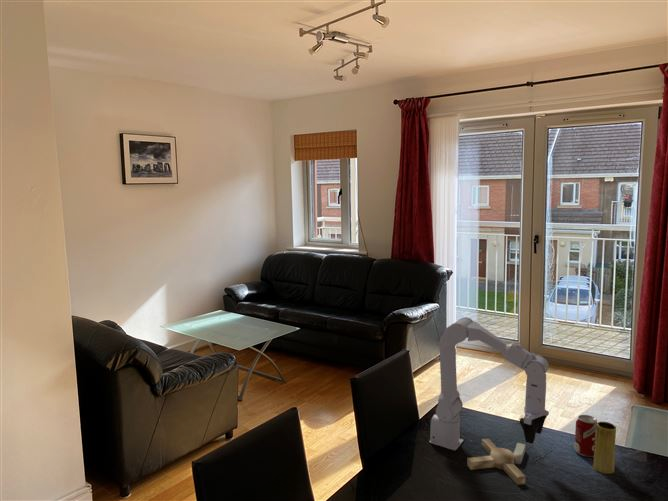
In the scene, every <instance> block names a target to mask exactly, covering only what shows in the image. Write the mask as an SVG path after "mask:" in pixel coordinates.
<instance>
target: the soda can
mask: <svg viewBox="0 0 668 501" xmlns="http://www.w3.org/2000/svg"><path fill="white" fill-rule="evenodd" d="M577 418H578V419H576V421H575V432H574V446H573V447H574V448H573V450H574V451H575V452H576V453H577V454H578V455H580V456H581V457H582V456H583V457H586V458H594V450H595V440H596V429H597V423H598V419H597V418H596V417H595V416H592V415H587V414H580V415H578V417H577Z"/></svg>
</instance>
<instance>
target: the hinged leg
mask: <svg viewBox="0 0 668 501" xmlns="http://www.w3.org/2000/svg"><path fill="white" fill-rule="evenodd" d="M512 453H513V454H514V465H521V464H522V462H523V459H524V456H525V453H526V444H525V443H520V442H517V443H516V445H515V448H514V451H513V452H512Z"/></svg>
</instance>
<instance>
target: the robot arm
mask: <svg viewBox="0 0 668 501" xmlns="http://www.w3.org/2000/svg"><path fill="white" fill-rule="evenodd" d="M466 339H467V342H472V341H474V342H475V341H479V342H482V343H483V344H485V345H488V346H489V347H491V348H492V349H494V350H496V351H498V352H500V353H502V356H503V358H504V359H505V360H507V361H508V362H510V363H511V364H512V365H514V366H516V367H518V368H519V369H521V370H523V371H524V373H525V375H526V382H525V396H524V397H525V400H524V402H525V404H524V407H523V408H524V409H523V412H524V416H523V417H521V418H520V419H519V424H520V427H521V428H522V431H523V436H524V441H525V442H526V443H529V444H534V442H535V439H536V434H539V435H540V434H541V433H542V431H543V428H544V425H545V421H546V420H547V417H548V416H549V414H550V411H548V410H547V409H546V396H547V374H546V373H547V372H548V370H549V367H550V366H549V361H548V360H547V359H546V358H545V357H544V356H543V355H540V354H536V353H535V352H532V353H531V352H530V351H528V350H527V349H525V348H523V347H522V344H520V343H517V344H516V343H515V342H512V343H507V342H506V341H504V340H503V339H501V338H500V337H498V335H495V334H494V333H493V332H491V331H489V330H488V329H487V328H484V327H483V326H482V325H481V324H480V323H479V322H477V321H475V320H472V319H471V318H469V317H461V318H460V319H458V320H457V321H455V322H454V323H452V324H450V325H448V327H446V328H445V330H444V333H442V336H441V337H440V339H439V342H438V343H439V368H440V369H439V370H440V394H439V396H438V399H437V402H438V403H437V407H436V408H435V413H434V414H433V416H432V418H431V419H430V432H429V433H430V434H429V436H430V437H429V443H430V444H432V445H435V446H440V447H442V448H446V449H448V450H452V451H456V450H458V448H459V447H460V446H461V445H462V443H463V442H464V439H463V438H460V432H461V431H460V430H461V428H460V426H461V417H460V412H461V411H462V409H463V407H464V406H463V405H464V404H463V402H462V399H461V396H460V392H459V391H458V388H457V387H458V384H457V383H458V382H457V356H456V355H457V354H456V353H457V352H456V349H457V348H456V346H457V345H458V344H460V343H462V342H464V341H465V340H466Z"/></svg>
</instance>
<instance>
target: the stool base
mask: <svg viewBox="0 0 668 501" xmlns="http://www.w3.org/2000/svg"><path fill="white" fill-rule="evenodd" d="M481 448H483V450H484V451H485V452H486V453H487V454H488V455H484V456H473V457H467V458H466V459H467V460H466V461H467V462H466V463H467V464H466V466H467V467H468V468H469V469H470V471H473V470H480V469H490V468H496V469H497V470H499V471H500V470H501V471H504V472H505V473H506V475H508V476H509V478H510V479H511V480H512V481H513V482H514V483H515V484H516V485H517V486H520V485H525V484H526V475H525V474H524V473H523V472H522V471H521V470H520V469H519V468H518V467H517V466H516V464H515V463H514V454H513V453H514V452H513V451H511V450H509V449H507V448H503V447H498V446H496V445H495V443H494V442H492V440H491V439H490V438H481Z"/></svg>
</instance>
